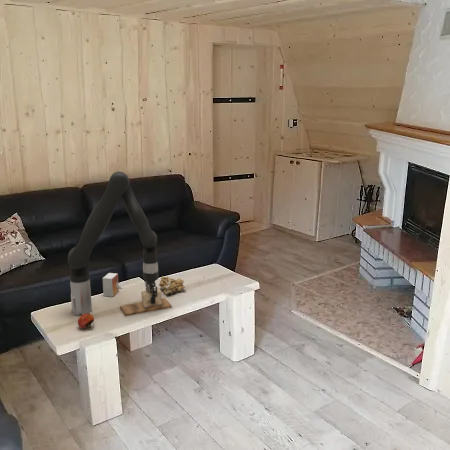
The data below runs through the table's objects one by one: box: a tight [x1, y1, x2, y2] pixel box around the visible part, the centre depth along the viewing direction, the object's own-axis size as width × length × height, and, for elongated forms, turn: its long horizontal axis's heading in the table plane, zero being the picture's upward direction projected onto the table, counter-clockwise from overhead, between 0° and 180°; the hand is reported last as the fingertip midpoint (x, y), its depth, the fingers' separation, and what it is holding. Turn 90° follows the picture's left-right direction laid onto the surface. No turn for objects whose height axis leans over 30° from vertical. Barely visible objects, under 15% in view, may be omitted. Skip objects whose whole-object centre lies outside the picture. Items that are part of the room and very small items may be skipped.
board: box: [119, 297, 172, 317], centre depth 246 cm, size 24×10×1 cm, turn 115°
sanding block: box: [140, 288, 163, 308], centre depth 247 cm, size 9×5×7 cm, turn 115°
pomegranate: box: [77, 313, 95, 330], centre depth 225 cm, size 7×7×10 cm
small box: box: [102, 272, 120, 298], centre depth 262 cm, size 8×6×10 cm
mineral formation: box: [158, 275, 186, 296], centre depth 268 cm, size 8×13×15 cm
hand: (151, 301), depth 247 cm, fingers closed on sanding block, 5 cm apart
